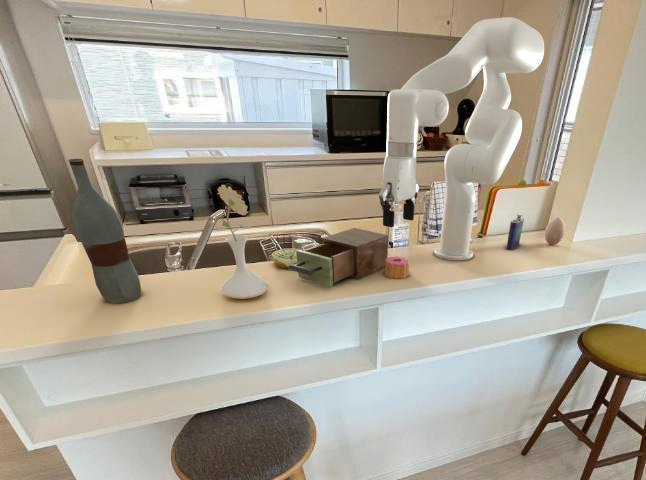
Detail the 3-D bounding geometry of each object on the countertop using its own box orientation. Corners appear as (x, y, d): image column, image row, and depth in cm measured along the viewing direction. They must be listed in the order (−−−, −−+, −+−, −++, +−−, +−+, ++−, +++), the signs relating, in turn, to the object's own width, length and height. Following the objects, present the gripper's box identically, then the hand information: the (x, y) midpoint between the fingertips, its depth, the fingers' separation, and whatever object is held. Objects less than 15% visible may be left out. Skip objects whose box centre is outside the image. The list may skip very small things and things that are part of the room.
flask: (513, 242, 150) (519, 211, 144) (521, 244, 149) (527, 212, 143) (504, 249, 144) (510, 216, 138) (512, 250, 143) (519, 217, 136)
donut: (393, 268, 125) (394, 254, 122) (412, 273, 122) (413, 259, 119) (379, 274, 120) (380, 260, 118) (399, 280, 117) (400, 265, 114)
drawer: (316, 293, 105) (314, 264, 101) (284, 282, 111) (281, 255, 106) (361, 273, 118) (361, 247, 114) (331, 264, 123) (330, 239, 119)
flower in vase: (275, 297, 105) (261, 189, 90) (229, 306, 99) (207, 193, 85) (258, 281, 114) (243, 180, 100) (215, 288, 108) (193, 183, 94)
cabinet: (357, 279, 117) (357, 246, 111) (323, 269, 122) (321, 237, 117) (387, 265, 126) (388, 235, 121) (354, 257, 132) (354, 227, 127)
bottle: (107, 291, 105) (57, 156, 88) (147, 288, 107) (106, 156, 90) (97, 306, 98) (41, 162, 81) (140, 302, 100) (94, 162, 83)
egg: (542, 241, 153) (548, 214, 148) (561, 243, 152) (568, 216, 147) (541, 245, 148) (548, 218, 143) (561, 248, 147) (568, 220, 141)
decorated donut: (291, 272, 119) (289, 259, 117) (265, 265, 124) (263, 252, 122) (316, 263, 127) (315, 251, 124) (290, 256, 131) (289, 244, 129)
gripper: (407, 147, 111) (404, 215, 120) (368, 151, 99) (368, 226, 108) (432, 149, 107) (426, 219, 117) (394, 154, 95) (392, 231, 105)
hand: (398, 222), depth 113 cm, fingers open, 9 cm apart
